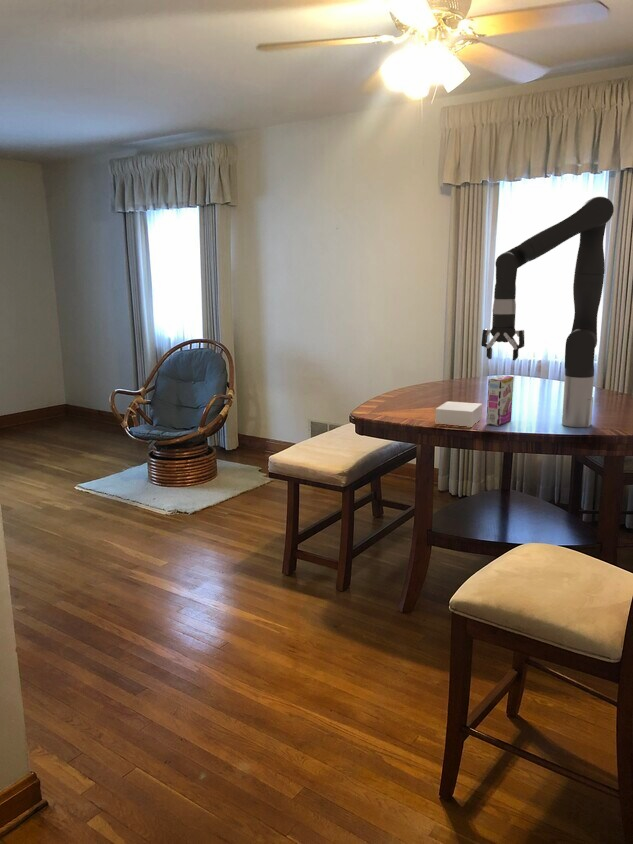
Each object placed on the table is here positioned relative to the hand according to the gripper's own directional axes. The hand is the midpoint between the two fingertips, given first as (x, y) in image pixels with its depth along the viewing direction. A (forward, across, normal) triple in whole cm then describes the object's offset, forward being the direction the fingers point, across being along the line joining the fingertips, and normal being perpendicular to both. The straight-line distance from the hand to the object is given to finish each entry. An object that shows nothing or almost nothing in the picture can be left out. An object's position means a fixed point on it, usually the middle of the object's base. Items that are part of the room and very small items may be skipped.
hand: (501, 359), depth 229 cm
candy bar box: (+23, 0, 0) cm, 23 cm away
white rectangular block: (+23, +13, +4) cm, 27 cm away
